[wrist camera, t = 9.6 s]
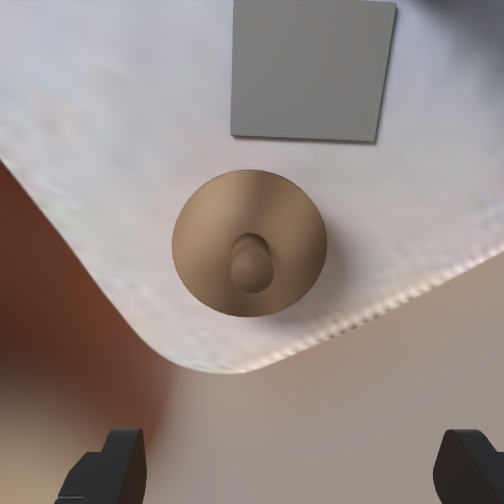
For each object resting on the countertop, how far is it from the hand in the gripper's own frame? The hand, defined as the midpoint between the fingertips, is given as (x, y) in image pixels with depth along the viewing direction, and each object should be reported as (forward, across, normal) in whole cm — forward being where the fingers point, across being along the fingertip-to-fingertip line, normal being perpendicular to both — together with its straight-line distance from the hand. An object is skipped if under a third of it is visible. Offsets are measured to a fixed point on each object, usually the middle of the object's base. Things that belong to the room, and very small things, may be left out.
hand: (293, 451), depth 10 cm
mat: (+22, -3, -11) cm, 25 cm away
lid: (+18, +1, +1) cm, 18 cm away
